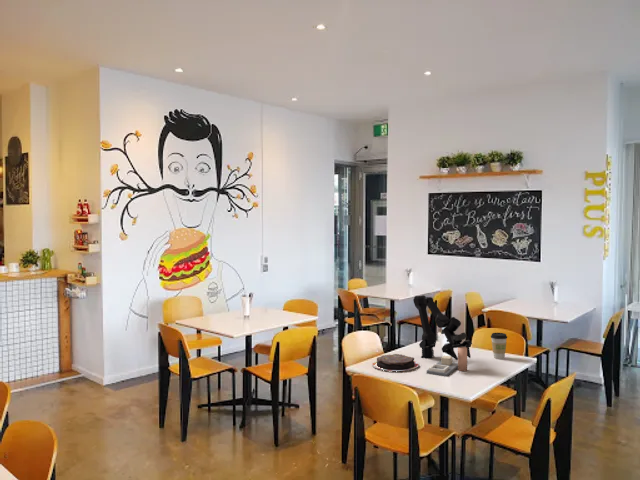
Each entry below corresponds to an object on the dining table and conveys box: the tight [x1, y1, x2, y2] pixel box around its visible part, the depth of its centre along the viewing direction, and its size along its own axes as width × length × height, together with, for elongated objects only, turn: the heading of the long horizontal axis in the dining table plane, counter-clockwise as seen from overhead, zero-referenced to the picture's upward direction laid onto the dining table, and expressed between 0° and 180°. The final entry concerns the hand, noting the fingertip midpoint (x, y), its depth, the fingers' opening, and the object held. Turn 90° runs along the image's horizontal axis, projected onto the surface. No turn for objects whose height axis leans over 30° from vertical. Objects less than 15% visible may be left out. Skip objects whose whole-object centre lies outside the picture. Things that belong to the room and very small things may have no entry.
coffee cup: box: [490, 332, 508, 360], centre depth 326 cm, size 10×10×15 cm
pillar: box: [457, 347, 468, 372], centre depth 302 cm, size 5×5×13 cm
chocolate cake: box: [371, 353, 420, 373], centre depth 315 cm, size 28×28×7 cm
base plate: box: [426, 355, 458, 377], centre depth 305 cm, size 12×23×6 cm, turn 148°
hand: (463, 358), depth 301 cm, fingers open, 9 cm apart
